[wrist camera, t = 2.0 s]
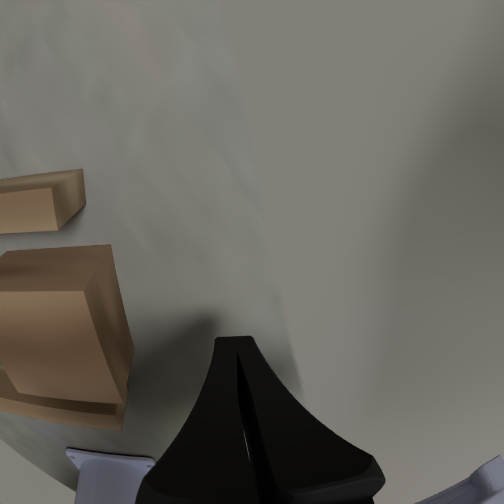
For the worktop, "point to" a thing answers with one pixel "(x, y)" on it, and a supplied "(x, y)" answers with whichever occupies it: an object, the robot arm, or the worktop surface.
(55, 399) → the bay
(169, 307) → the worktop surface
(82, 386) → the brown wooden block
